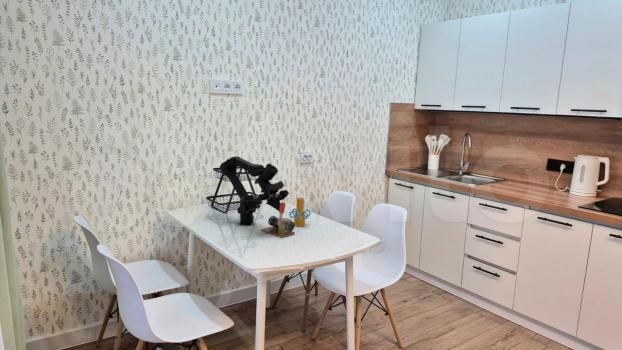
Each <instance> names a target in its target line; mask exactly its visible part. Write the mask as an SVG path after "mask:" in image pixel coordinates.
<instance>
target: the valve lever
mask: <svg viewBox="0 0 622 350" xmlns="http://www.w3.org/2000/svg"><path fill="white" fill-rule="evenodd" d="M285 209H286V202H284V201H283V202H280V209H279V211H278V213H279V216H278V218H279V221H278V222H277V225H278V226H280V225H282V218H283V216H284V213H285Z"/></svg>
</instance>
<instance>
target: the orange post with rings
mask: <svg viewBox="0 0 622 350" xmlns="http://www.w3.org/2000/svg"><path fill="white" fill-rule="evenodd" d="M304 206H305V198H304V197H297V198H296V208H295V207H294V208H292V210H290V211H289V213H288V215H289V218H290V219H293V222H294V225H295V226H294V227H298V228H300V227H301V228H302V227H305V226H306V220H307V219H308V218H309V217H310V216H311V210H309V209H305V207H304ZM292 215H293V216H292Z"/></svg>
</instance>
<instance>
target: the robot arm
mask: <svg viewBox="0 0 622 350" xmlns="http://www.w3.org/2000/svg"><path fill="white" fill-rule="evenodd" d="M238 167H239V168H241V169H243V170H245V171H246V172H247V174H248V175H250V177H252V178H254V177H257V178H255V179H254V185H257V184H258V186H259V188H260V194H258V195H257V197H256V198H255V196H254V195H253V194H249V193H248V191H247V189H246V188H245V186H244V185H243V183H242V181H241V179H240V178H239V176H238V174H237V172H238V170H237V169H238ZM219 171H220V172H221V174H223V176H225V177H226V178H228V180H229V182H230V183H231V184H232V187H233V189H234V191H235V193H236V194H237V196H238V198H239V207H237V209H236V210H237V214H240V215H239V223H238V225H239V226H240V225H241V226H251V225H253V224H254V223H255V218H254V217H255V215H254V213H256V210H257V207H258V205H259V206H260V205H262V204H263V201H266V203H265V205H268V206H270V207H272V208H273V209H275V210H276V211H278V212H279V209H280V203H281V201H284V200H285V199H286V198H287V197H288V195H289V194H290V193H289V191H288V190H287V189H284V190H282V189H283V188H284V186H285V185H284V184H285V183H283V180H279V181H277V182H275V183H271V181H272V180H273V179H274V177H276V175H277V174H278V172H279V169H278V168H277V167H276V166H275V165H273V164H272V163H271V162H270V163H267V164H266V166H264V165H263V164H258V163H252V162H250V161H248V160H246V159H243V158H242V157H240V156H232V157H230V158H229V159H227V160H224V161H223V162H221V163H220V165H219Z"/></svg>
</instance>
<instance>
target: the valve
mask: <svg viewBox="0 0 622 350" xmlns="http://www.w3.org/2000/svg"><path fill="white" fill-rule="evenodd" d="M278 221H279V217H277V216H274V215H271V216H269V218H268V227H264V228H261V230H260V231H261V232H263V233H266V234H268V235H269V234H270V235H272V236H275V237H278V238H281V239H285V238H287V237H291V236H294V235H295V234H296V231H295V232H294V229H295V227H296V226H295V225H294V221H293V218H288V217H282V225H280V226H278V225H277V222H278Z"/></svg>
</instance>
